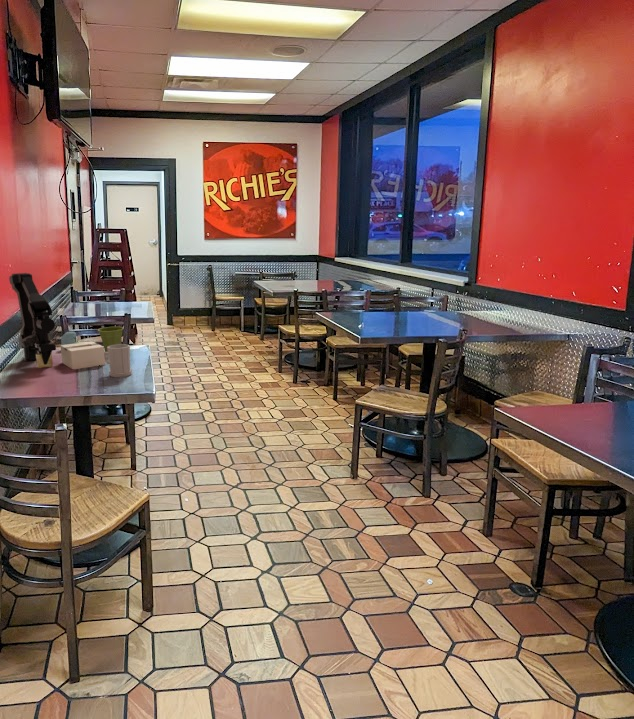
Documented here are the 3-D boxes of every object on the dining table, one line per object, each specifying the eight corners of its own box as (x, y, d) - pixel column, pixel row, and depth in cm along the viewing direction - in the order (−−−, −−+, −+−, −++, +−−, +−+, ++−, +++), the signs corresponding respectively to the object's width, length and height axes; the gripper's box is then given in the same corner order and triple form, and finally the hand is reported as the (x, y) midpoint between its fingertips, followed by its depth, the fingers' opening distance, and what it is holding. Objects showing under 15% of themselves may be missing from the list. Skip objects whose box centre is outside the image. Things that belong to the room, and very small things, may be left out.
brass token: (37, 367, 277) (35, 353, 276) (51, 365, 281) (50, 351, 280) (38, 368, 276) (36, 354, 274) (52, 366, 279) (51, 352, 278)
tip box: (62, 362, 285) (60, 345, 284) (93, 358, 293) (92, 341, 292) (72, 369, 273) (71, 351, 271) (105, 364, 281) (103, 346, 279)
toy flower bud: (88, 332, 313) (61, 333, 308) (88, 350, 314) (61, 351, 309) (86, 330, 319) (60, 330, 314) (86, 347, 321) (60, 348, 316)
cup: (104, 378, 257) (102, 349, 254) (105, 373, 265) (103, 345, 263) (131, 376, 260) (129, 347, 257) (132, 371, 268) (129, 343, 265)
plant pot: (102, 349, 313) (100, 327, 310) (127, 348, 314) (125, 326, 311) (97, 354, 301) (95, 331, 299) (123, 354, 302) (121, 330, 300)
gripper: (15, 327, 277) (19, 362, 281) (26, 333, 263) (30, 370, 266) (42, 325, 284) (46, 359, 287) (54, 330, 269) (58, 366, 273)
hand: (44, 363), depth 278 cm, fingers closed on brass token, 2 cm apart
